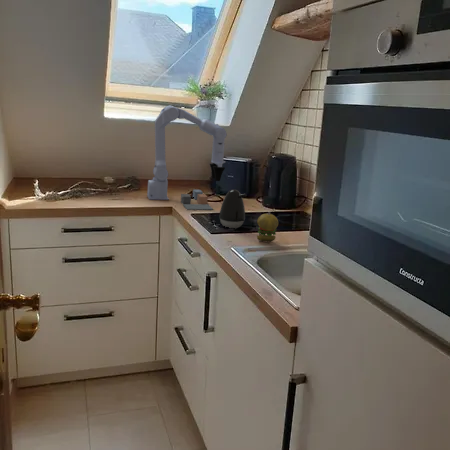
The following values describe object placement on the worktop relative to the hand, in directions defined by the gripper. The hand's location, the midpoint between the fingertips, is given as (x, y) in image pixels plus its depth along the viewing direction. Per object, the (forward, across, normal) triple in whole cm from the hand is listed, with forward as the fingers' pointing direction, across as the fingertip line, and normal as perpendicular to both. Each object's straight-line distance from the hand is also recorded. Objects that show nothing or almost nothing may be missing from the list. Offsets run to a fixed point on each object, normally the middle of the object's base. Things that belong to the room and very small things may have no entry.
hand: (216, 179), depth 240 cm
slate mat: (+10, -19, +12) cm, 25 cm away
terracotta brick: (+10, -10, +8) cm, 16 cm away
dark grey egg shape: (+10, -51, +3) cm, 52 cm away
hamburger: (+10, -71, -5) cm, 72 cm away
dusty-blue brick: (+10, +1, +9) cm, 13 cm away
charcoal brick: (+10, -10, +16) cm, 22 cm away
